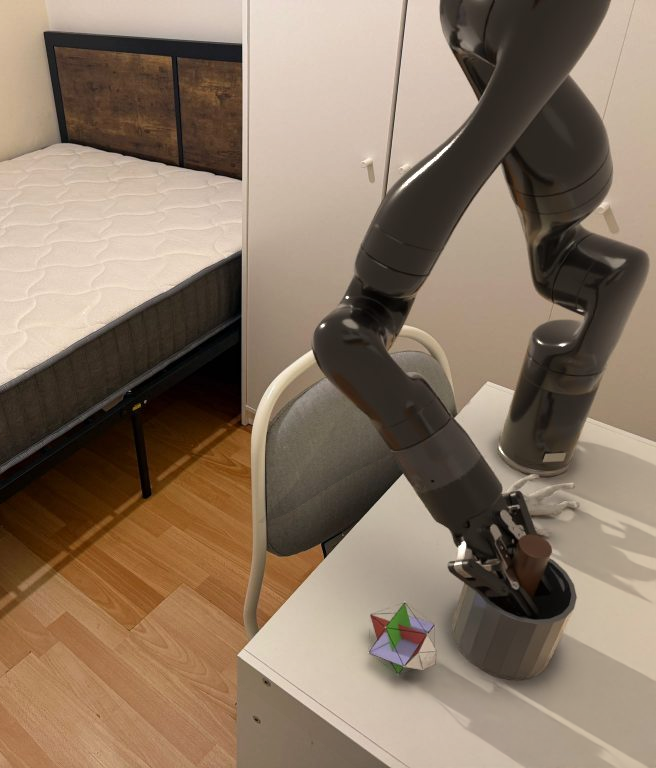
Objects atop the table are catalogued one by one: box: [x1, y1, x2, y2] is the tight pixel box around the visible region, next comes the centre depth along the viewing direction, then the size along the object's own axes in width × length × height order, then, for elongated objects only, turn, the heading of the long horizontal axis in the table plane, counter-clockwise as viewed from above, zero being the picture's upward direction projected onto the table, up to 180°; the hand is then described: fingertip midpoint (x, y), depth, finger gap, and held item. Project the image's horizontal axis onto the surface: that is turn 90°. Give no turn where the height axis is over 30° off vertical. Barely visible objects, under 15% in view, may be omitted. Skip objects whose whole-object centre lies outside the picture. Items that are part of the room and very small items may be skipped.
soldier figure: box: [505, 474, 581, 537], centre depth 94 cm, size 8×5×12 cm
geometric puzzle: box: [367, 601, 437, 676], centre depth 79 cm, size 7×7×8 cm
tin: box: [451, 557, 578, 681], centre depth 78 cm, size 10×10×10 cm
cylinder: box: [495, 534, 553, 615], centre depth 76 cm, size 3×3×14 cm
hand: (536, 604), depth 75 cm, fingers closed on cylinder, 3 cm apart
